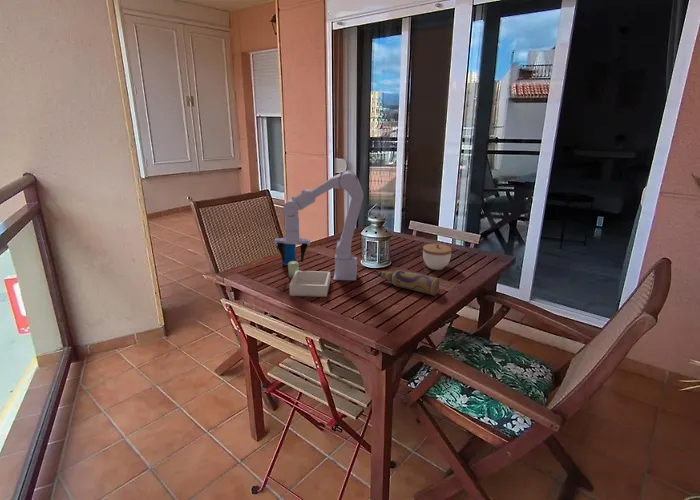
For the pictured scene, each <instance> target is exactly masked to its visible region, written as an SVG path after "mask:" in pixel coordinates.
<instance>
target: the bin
mask: <svg viewBox="0 0 700 500" xmlns="http://www.w3.org/2000/svg"><path fill="white" fill-rule="evenodd" d="M330 285H331V271H322V270H321V271H320V270H319V271H315V270H299V271H296V272H295V274H294V276H293V278H291V280H290V283H289V296H290V297H313V298H314V297H316V298H317V297H320V298H327V296H328V293H329V288H330Z"/></svg>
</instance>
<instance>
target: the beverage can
mask: <svg viewBox="0 0 700 500" xmlns="http://www.w3.org/2000/svg"><path fill="white" fill-rule="evenodd" d="M282 238H285V236H283V237H282ZM296 245H297V244H285V261H283V260H282V259H281V262H282V264H283V265H285V266H288V263H289V262H291V261H297V247H296Z"/></svg>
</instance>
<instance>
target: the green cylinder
mask: <svg viewBox="0 0 700 500" xmlns="http://www.w3.org/2000/svg"><path fill="white" fill-rule="evenodd" d="M299 265H300V264H299V262H298V261H297V260H296V261H291V262H289V263H288V265H287V268H288V269H287V270H288V278H290V279H292V278H293V276H294V274H295V272H296V271H300V266H299Z"/></svg>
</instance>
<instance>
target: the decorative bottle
mask: <svg viewBox="0 0 700 500" xmlns="http://www.w3.org/2000/svg"><path fill="white" fill-rule="evenodd" d="M377 275H378V276H379V277H380V278H381V279H385V280H386V281H389V282H391V283H392V285H394V286H395V287H399V288H403V289H406V290H410V291H415V292H419V293H423V294H427V295H430V296H434V297H435V296H436V295H437V294H438V292H439V289H440V282H441V281H440V278H438V277H433V276H429V275H425V274H419V273H414V272H411V271H406V270H402V269H397V270H395V271H394V272H393V271H385V270H381V271H378V273H377Z"/></svg>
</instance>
